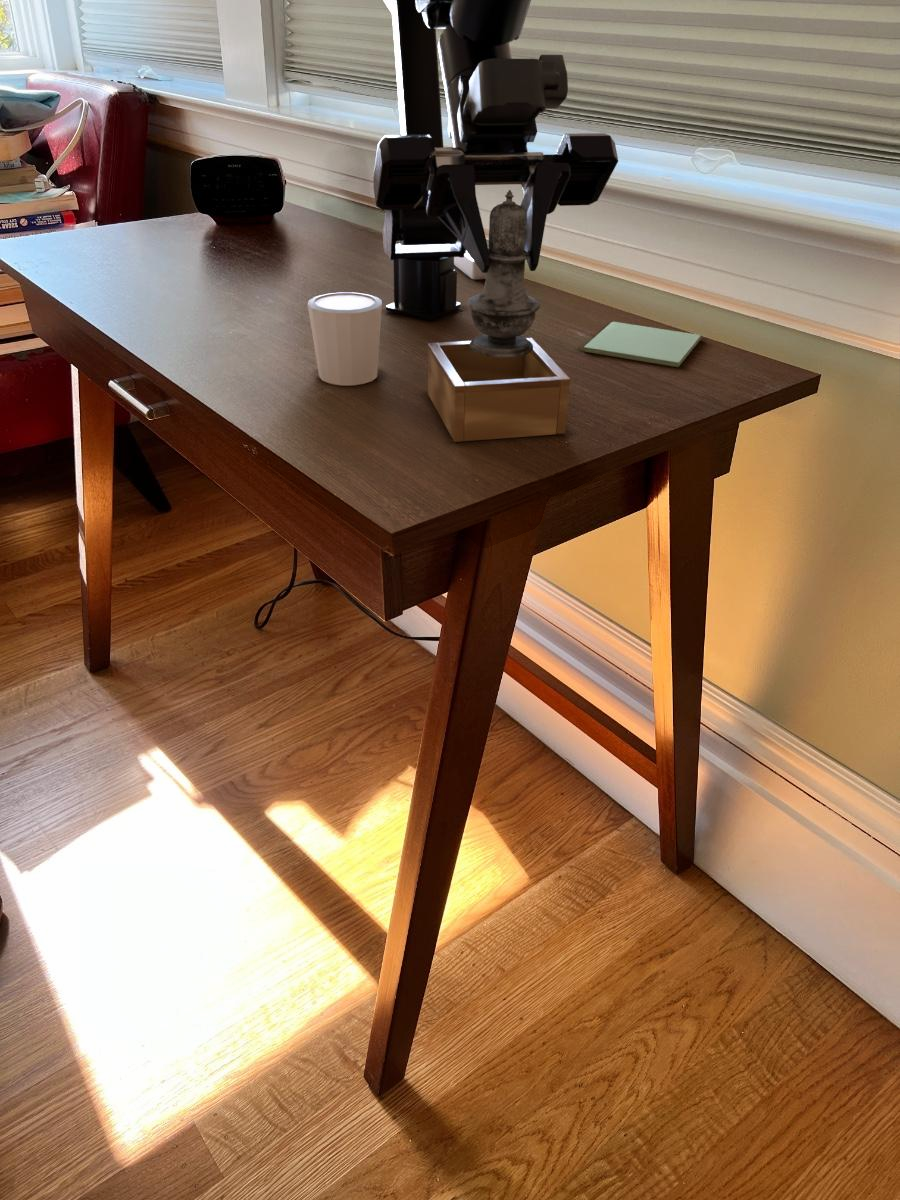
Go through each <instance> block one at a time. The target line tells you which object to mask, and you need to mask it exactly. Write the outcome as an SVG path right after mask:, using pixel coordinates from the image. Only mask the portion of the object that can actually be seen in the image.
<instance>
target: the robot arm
mask: <svg viewBox="0 0 900 1200" xmlns="http://www.w3.org/2000/svg"><path fill="white" fill-rule="evenodd" d="M382 1H383V2H384V4H385V5H386V7H387V8H388V10H389V11H390V13H391V20H392V31H393V32H392V33H393V44H394V45H393V46H394V60H395V73H396V87H397V99H398V113H399V124H400V125H399V127H400V134H384V135H383V136H382V138H381V139H380V140H379V142H378V143H377V148H376V156H375V162H374V169H373V176H372V177H373V193H374V194H373V195H374V201H375V207H377V208H378V209H379V210H381V211H385V215H384V221H383V227H382V243H383V244H382V245H383V251H384V253H385V255H386V256H387V257H388V259H389V260H390V261H392V263H393V264H392V265H393V266H392V267H393V268H392V271H393V302H392V303H389V304H387V305H385V310H386V311H387V312H392V313H396V314H400V315H404V316H405V315H406V316H410V317H413V318H419V319H424V320H435V319H437V318H440V317H442V316H445V315H447V314H448V313H451V312H453V311H455V310H458V309H459V308H461V302H459V301H457V294H458V293H457V290H458V282H457V281H458V272H457V270H456V269H455V265H454V257H459V258H462V257H464V254H466V251H467V252H468V253H469V255H470V256H471V258H472V259H473V260H474V262H475V263H476V265H477V266H478V267H479V269H480V270H481V272H482V273H487V272H488V270H489V267H490V262H489V253H488V245H489V244H488V241H487V237H486V233H485V228H484V225H483V221H482V216H481V212H480V207H479V203H478V199H477V192H476V191H477V190H476V186H497V185H498V186H499V185H500V186H501V185H503V186H504V185H521V187H522V191H523V198H522V200H521V202H520V204H519V205H520V206H521V207H522V208H524V210H525V211H526V214H527V224H526V239H525V250H526V251H527V252H528V253H529V257H528V258H527V259H526V260H525V261H526V263H527V266H528V268H529V271H530V272H536V270H537V267H539V263H540V256H541V249H542V244H543V239H544V235H545V234H544V233H545V227H546V222H547V217H548V215H550V214H552V213H554V212H555V210H556V208H557V206H560V207H566V206H572V207H573V206H590V205H592V204H594V203H596V202H598V201H599V199H600V197H601V194H602V193H603V191H604V189H605V187H606V186H607V183H608V182H609V180H610V178H611V176H612V174H613V172H614V170H615V168H616V167H617V165H618V163H619V157H618V152H617V151H618V150H617V147H616V143H615V141H614V139H613V138H612V136H611V135H610V134H607V133H605V132H593V133H591V132H590V133H589V132H587V133H585V132H584V133H582V132H581V133H579V132H578V133H563V136H562V138H561V140H560V143H559V145H558V148H557V150H556V152H555V154H544V152H542V151H531V152H530V151H528V143H534V141H535V139H536V136H537V135H538V128H537V121H536V118H537V117H538V116H539V115H540V114H541V113H544V112H545V111H546V110H557V109H559V107H560V106H561V105H562V104H563V103H564V101H565V100H566V99H567V98H568V94H569V93H568V92H569V79H568V70H567V66H566V63H565V58H564V55H563V54H540V55H539V57H538V58H512V54H511V47H510V43H511V42H513V41H517V40H519V38H520V37H521V35H522V32H523V28H524V25H525V21H526V19H527V15H528V12H529V8H530V6H531V2H532V0H382ZM437 29H443V30H442V32H441V34H440V36H439V39H438V40H437ZM437 41H438V42H437ZM438 56H439V59H438ZM439 62H440V68H441V80H442V82H443V86H444V87H443V88H444V94H445V100H446V108H447V113H448V125H447V133H448V138H449V139H452V147H451V146H450V147H449V146H448V147H447V146H446V147H445V146H444V134H443V120H442V106H441V105H442V103H441V90H440V89H441V88H440V75H439V72H440V71H439ZM397 242H399V243H397Z"/></svg>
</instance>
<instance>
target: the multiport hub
mask: <svg viewBox="0 0 900 1200" xmlns="http://www.w3.org/2000/svg"><path fill="white" fill-rule="evenodd" d="M454 267H456V268H458V269H459V270H460V271H461V272H462V273H464V275H466V276H468V278H470V279H472V280H475V281H476V280H486V273H482V272H481V270H480V269H479V267H478V266H477V265H476V263H475V262H474V260H473V259H472V258H471V256H470V255H469V253H468V252H467V251H466V254H464V257H462V258H459V257H454Z"/></svg>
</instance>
